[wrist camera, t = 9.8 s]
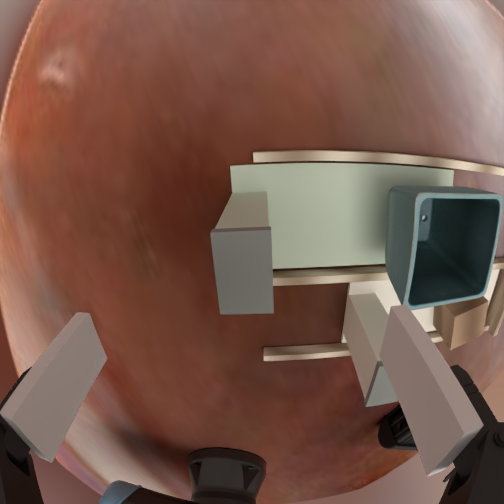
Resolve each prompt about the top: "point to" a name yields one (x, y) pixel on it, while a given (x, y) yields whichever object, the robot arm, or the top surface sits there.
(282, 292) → the top surface
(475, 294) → the flower pot
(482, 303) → the walnut block
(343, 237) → the sage strip
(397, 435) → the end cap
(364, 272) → the lane frame
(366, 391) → the cream strip
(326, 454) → the top surface
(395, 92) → the top surface
